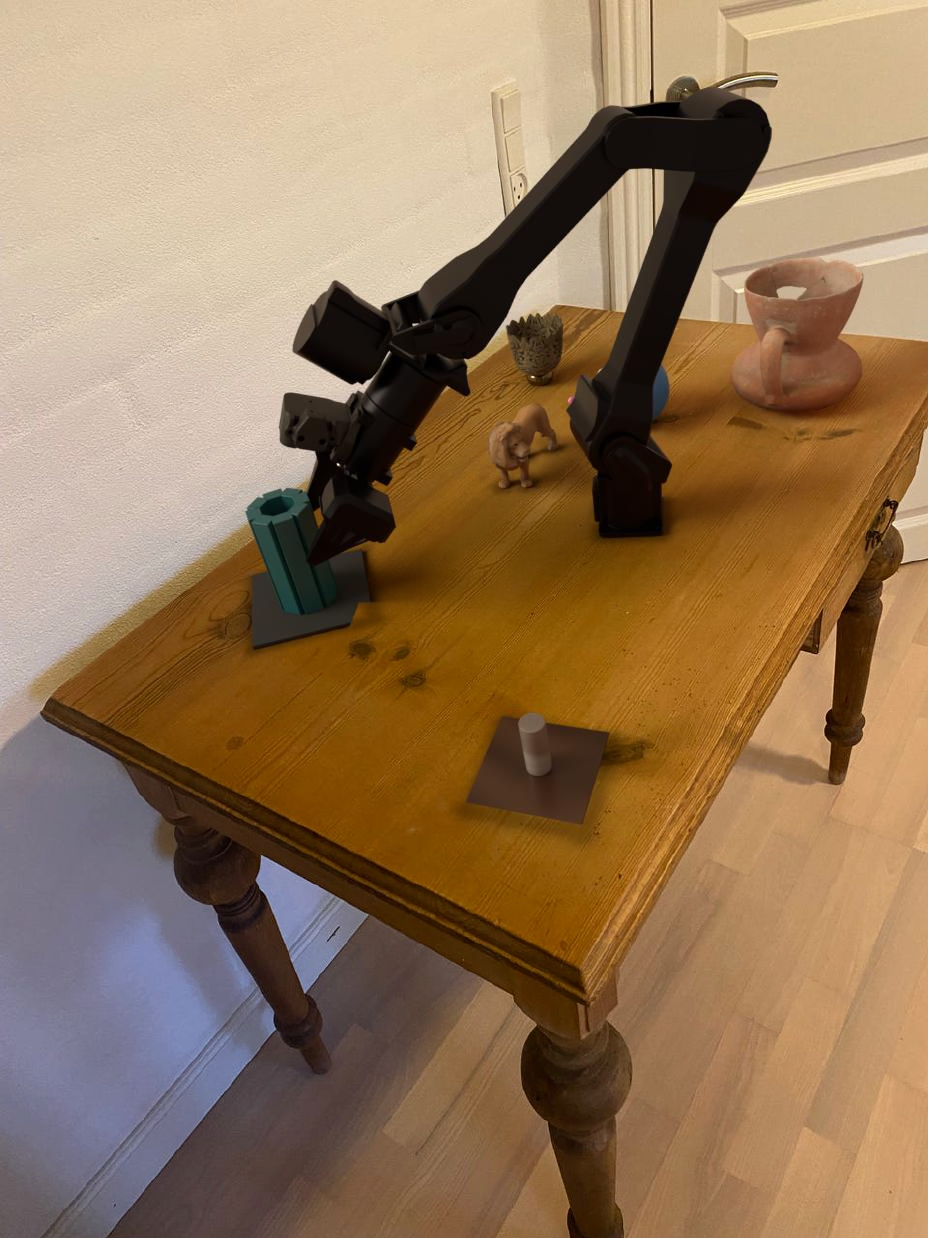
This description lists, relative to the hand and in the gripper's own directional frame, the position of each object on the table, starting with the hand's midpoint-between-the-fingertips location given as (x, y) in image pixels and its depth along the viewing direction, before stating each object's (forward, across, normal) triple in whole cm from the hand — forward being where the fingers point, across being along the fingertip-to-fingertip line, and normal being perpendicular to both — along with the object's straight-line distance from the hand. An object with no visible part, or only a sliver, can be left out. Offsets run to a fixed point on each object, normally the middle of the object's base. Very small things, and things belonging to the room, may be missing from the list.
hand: (307, 536), depth 87 cm
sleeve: (+6, 0, +4) cm, 7 cm away
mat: (+6, 0, +4) cm, 7 cm away
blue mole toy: (-21, -19, +32) cm, 43 cm away
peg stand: (-5, +30, +16) cm, 34 cm away
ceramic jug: (-35, -16, +46) cm, 60 cm away
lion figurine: (-12, -14, +23) cm, 29 cm away
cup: (-17, -36, +28) cm, 48 cm away
